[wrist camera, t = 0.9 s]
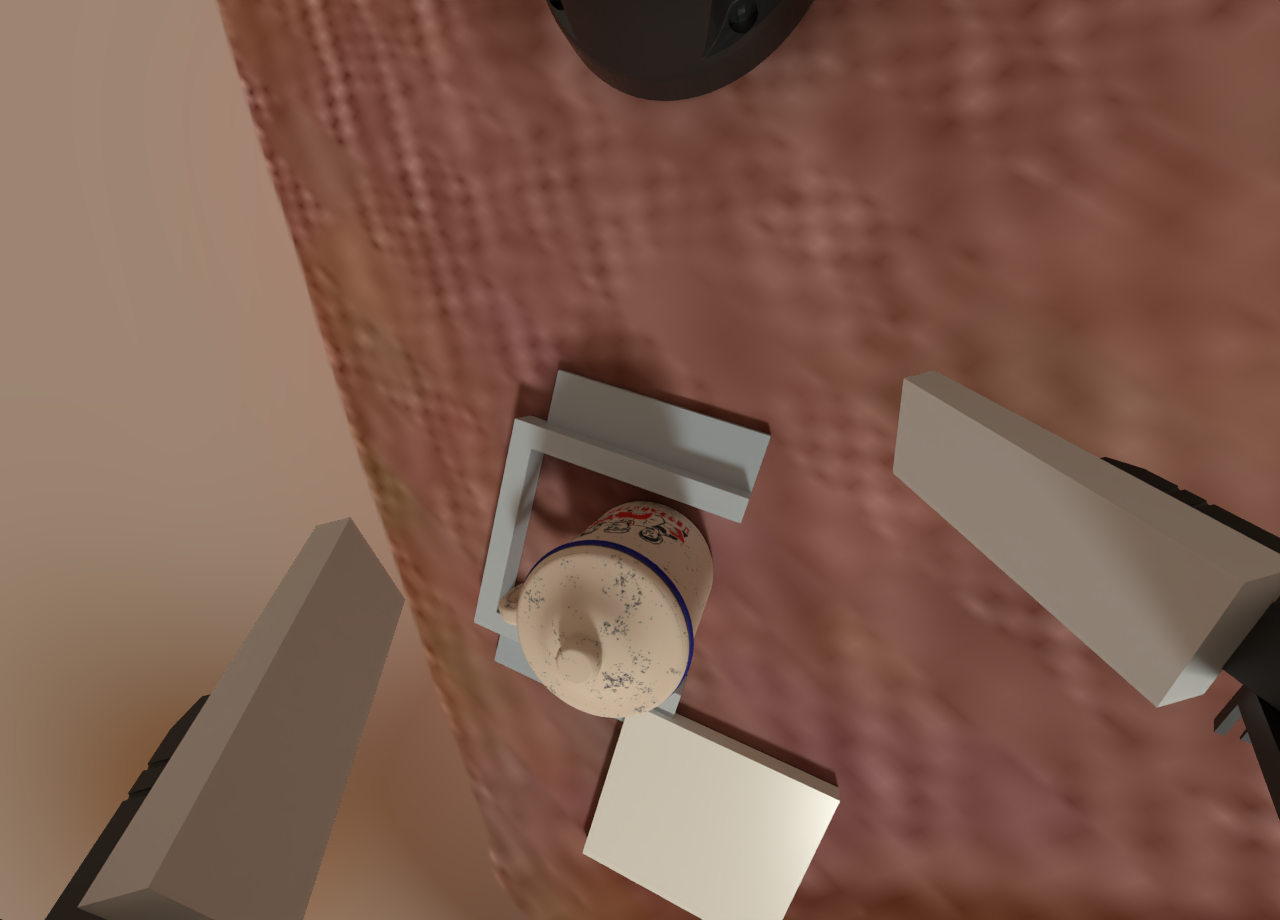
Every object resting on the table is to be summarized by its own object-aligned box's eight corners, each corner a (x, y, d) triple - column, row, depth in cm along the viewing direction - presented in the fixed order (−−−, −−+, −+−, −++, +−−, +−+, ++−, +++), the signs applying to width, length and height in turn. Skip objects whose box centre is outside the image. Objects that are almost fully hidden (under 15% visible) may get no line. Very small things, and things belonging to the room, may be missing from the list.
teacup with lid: (708, 490, 30) (661, 562, 19) (726, 628, 31) (693, 772, 20) (535, 504, 33) (410, 572, 22) (558, 627, 35) (451, 748, 24)
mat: (634, 693, 34) (629, 703, 33) (838, 787, 31) (840, 800, 30) (587, 840, 37) (582, 853, 36) (766, 938, 34) (765, 954, 33)
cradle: (541, 363, 31) (526, 363, 29) (771, 434, 28) (769, 439, 26) (482, 648, 37) (465, 663, 35) (666, 735, 34) (659, 757, 32)
